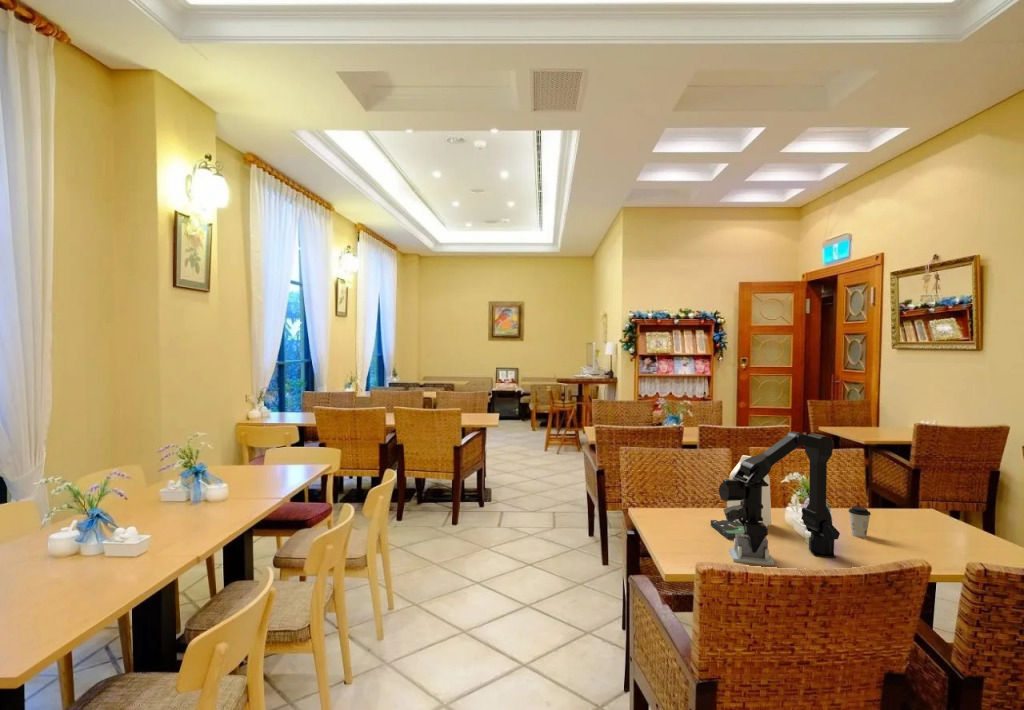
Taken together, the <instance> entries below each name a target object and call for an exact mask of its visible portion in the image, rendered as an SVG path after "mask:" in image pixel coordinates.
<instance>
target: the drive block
mask: <svg viewBox="0 0 1024 710" xmlns="http://www.w3.org/2000/svg"><path fill="white" fill-rule="evenodd" d="M738 546H740V547H742V557H751V558H762V559H765V549H769V539H768V538H767V536H766V537H765V538H764V540H763V541H762V543H761V545H760V547H759V548H758V550H757V552H756V553H753V552H752V549H751V542H750V537H749V536H748V535H747V534H741V533H735V552H736V554H737V556H738Z"/></svg>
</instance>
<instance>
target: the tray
mask: <svg viewBox="0 0 1024 710" xmlns="http://www.w3.org/2000/svg"><path fill="white" fill-rule="evenodd" d="M728 552H729V554H730V556H731V559H732V561H733V562H736V563H744V564H745V563H746V564H756V565H767V566H775V561H774V560H773V558H772V556H771V555H770V549H769V548H768V549H765V559H762V558H751V557H742V547H740V546H738V556H737V554H736V552H735V539H733V548H732V547H731V548H730V547H728Z"/></svg>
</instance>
